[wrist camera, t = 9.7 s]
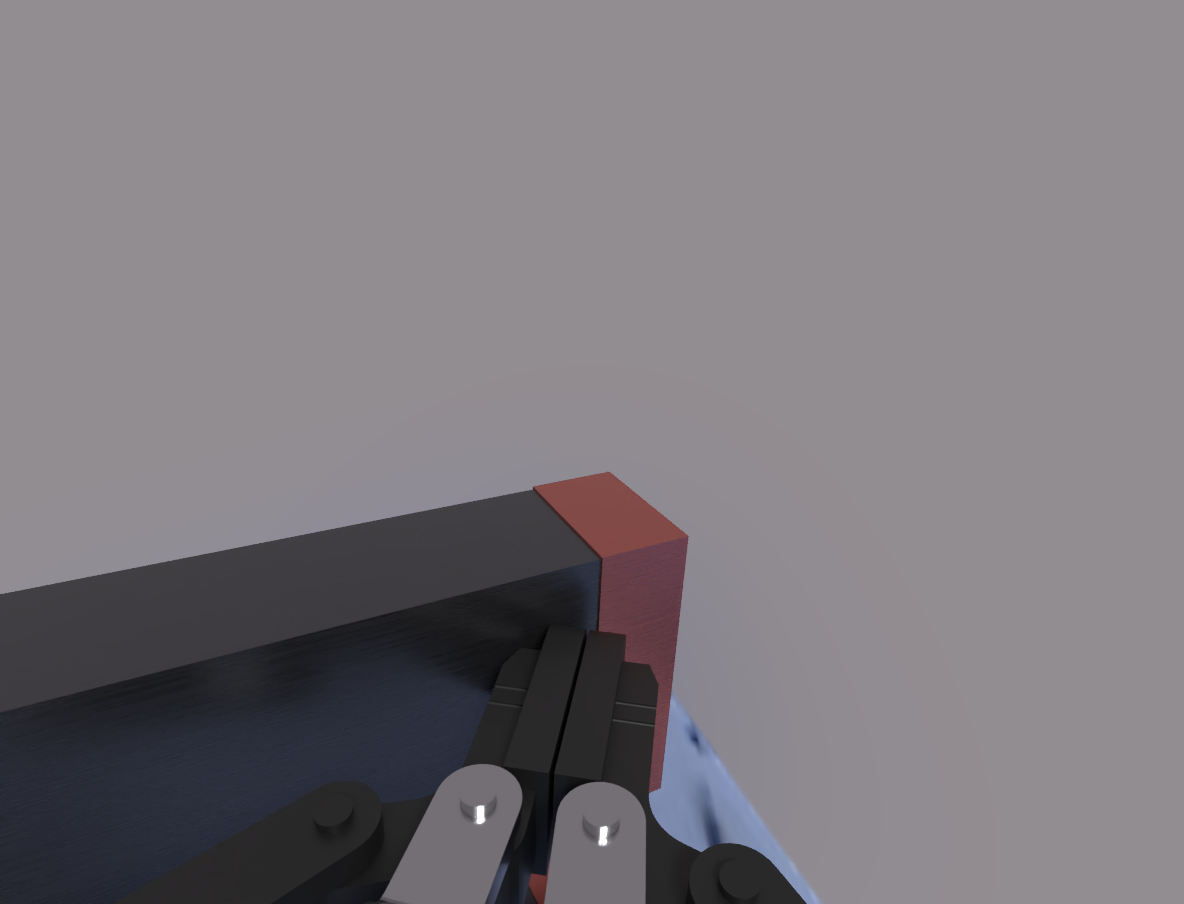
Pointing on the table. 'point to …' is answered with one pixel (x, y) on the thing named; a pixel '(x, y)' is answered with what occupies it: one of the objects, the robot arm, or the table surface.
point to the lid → (298, 673)
